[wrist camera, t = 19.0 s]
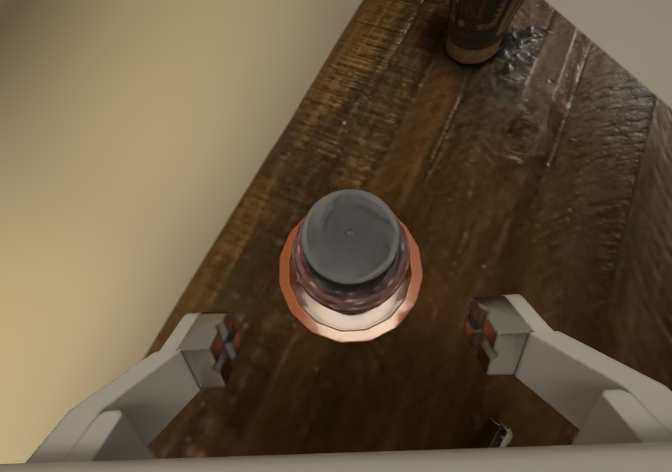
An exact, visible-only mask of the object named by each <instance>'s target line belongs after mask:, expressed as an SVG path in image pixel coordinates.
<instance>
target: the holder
mask: <svg viewBox="0 0 672 472" xmlns="http://www.w3.org/2000/svg"><path fill="white" fill-rule="evenodd" d="M399 221H400V220H399ZM301 222H302V221H301ZM301 222H300V223H299V224H298V225H297V226H296V227H295V228H294V229H293V230H292V231H291V232H290V234H289V236H288V239H287V241H286V243H285V246H284V248H283V251H282V253H281V256H280V288H281V290H282V293H283V295H284V297H285V300H286V302H287V305H288V307H289V310H290V311H291V313H292V314H293V315H294V316H295V317H296V318H297V319H298V320H299V321H300V322H301V323H302V324H303V325H304V326H305V327H306V328H307V329H308V330H310V331H311V332H312V333H315V334H317V335H320V336H322V337H325V338H328V339H330V340H333V341H336V342H338V343H339V342H340V343H349V342H368V341H372V340H374V339H376V338H377V337H379V336H381V335H383V334H385V333H387V332H389V331H391V330H393V329H395V328H396V327H398V325H399V324H400V323H401V322H402V320H403V319H404V318H405V317H406V315H407V314H408V313H409V312H410V310H411V309H412V308H413V307H414V305H415V304H416V301H417V297H418V293H419V289H420V286H421V282H422V278H423V272H422V265H421V258H420V252H419V247H418V246H417V244H416V242H415V241H414V239H413V237H412V236H411V234H410V232H409V231H408V229H407V227H406V226H405V225H404V223H402V222H401V221H400V222H401V223H402V225H403V227H404V229H405V232H406V234H407V237H408V241H409V247H410V262H409V267H408V270H407V273H406V276H405V278H404V280H403V282H402V284H401V286H400V287H399V288H398V290H397V291H396V292H395V293H394V294H393V296H391V297H390V298H389V299H388V300H387V301H385V302H384V303H382V304H381V305H380V306H379V307H378V308H374V309H372V310H369V311H367V312H364V313H361V314H354V315H348V314H341V313H338V312H335V311H333V310H330V309H328V308H326V307H324V306H322V305H321V304H319V303H318V302H316V301H315V300H314V299H313V298H311V297H310V296H309V295H308V293H307V292H306V291H305V290H304V289H303V287H302V286H301V284H300V283H299V281H298V279H297V277H296V274H295V271H294V267H293V261H292V245H293V240H294V236H295V233H296V231H297V229H298V227H299V225H300V224H301Z"/></svg>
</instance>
